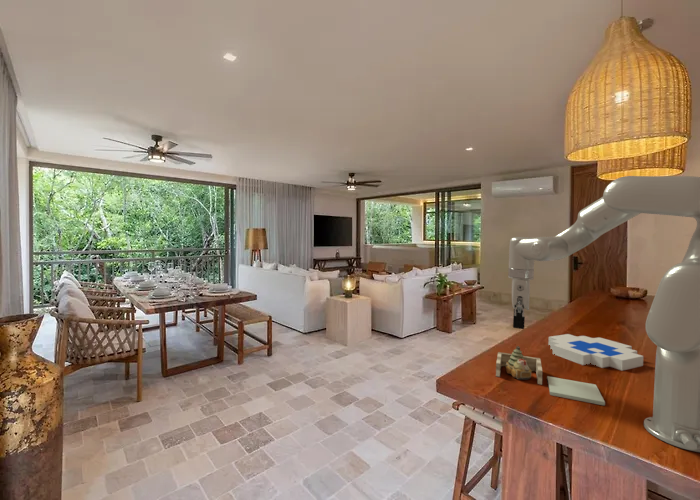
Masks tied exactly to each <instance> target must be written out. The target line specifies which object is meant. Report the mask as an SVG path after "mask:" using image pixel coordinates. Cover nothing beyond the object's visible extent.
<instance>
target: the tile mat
mask: <svg viewBox="0 0 700 500" xmlns="http://www.w3.org/2000/svg"><path fill="white" fill-rule="evenodd" d="M546 379H547V384H548V386H547V387H548V390H549V395H550V396H554V397H558V398H559V397H560V398H564V399H569V400H574V401H580V402H584V403H590V404H594V405H600V406H606V401H605V400H604V397H603V396H602V394H601V392H600V390H599V388H598V386H597V384H594V383H590V382H589V383H588V382H582V381H578V380H571V379H565V378H559V377H555V376H549V375H547V376H546Z"/></svg>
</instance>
